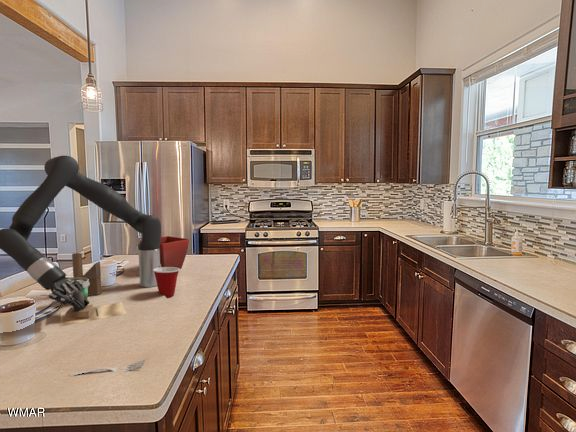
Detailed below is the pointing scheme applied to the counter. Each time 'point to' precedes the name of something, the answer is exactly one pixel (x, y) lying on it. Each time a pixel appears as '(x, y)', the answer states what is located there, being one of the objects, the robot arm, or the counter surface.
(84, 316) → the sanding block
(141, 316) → the counter surface
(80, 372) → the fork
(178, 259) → the plant pot
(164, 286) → the plastic cup
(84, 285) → the food container
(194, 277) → the counter surface
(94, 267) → the wooden block
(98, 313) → the oak board
